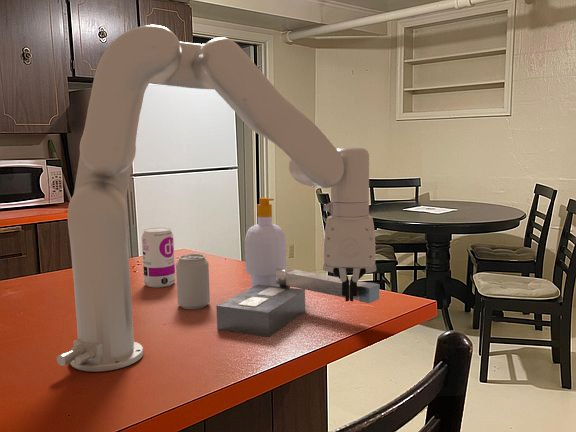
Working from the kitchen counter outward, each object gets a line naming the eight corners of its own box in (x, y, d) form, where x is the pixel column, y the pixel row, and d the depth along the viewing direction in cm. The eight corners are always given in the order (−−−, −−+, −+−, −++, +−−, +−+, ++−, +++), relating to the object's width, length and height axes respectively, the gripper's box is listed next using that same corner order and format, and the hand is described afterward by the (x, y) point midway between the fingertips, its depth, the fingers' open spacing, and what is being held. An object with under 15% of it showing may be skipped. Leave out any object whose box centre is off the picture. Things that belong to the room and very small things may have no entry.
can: (203, 311, 128) (201, 259, 127) (172, 309, 130) (170, 258, 128) (214, 301, 136) (212, 252, 134) (185, 300, 137) (182, 252, 135)
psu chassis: (269, 336, 111) (268, 311, 110) (217, 329, 116) (216, 304, 115) (312, 306, 131) (311, 283, 130) (266, 300, 136) (265, 279, 135)
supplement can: (181, 282, 154) (179, 228, 152) (159, 289, 147) (156, 233, 145) (160, 279, 158) (157, 226, 156) (138, 285, 152) (134, 230, 150)
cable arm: (379, 299, 117) (379, 284, 116) (369, 303, 114) (369, 288, 113) (283, 280, 134) (283, 266, 133) (272, 283, 130) (272, 270, 130)
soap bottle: (263, 301, 135) (261, 201, 132) (238, 292, 143) (235, 198, 140) (295, 292, 142) (293, 197, 139) (269, 285, 150) (267, 195, 146)
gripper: (310, 212, 109) (311, 304, 112) (388, 212, 107) (387, 306, 110) (313, 207, 117) (314, 293, 119) (386, 208, 115) (385, 295, 117)
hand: (349, 299), depth 115 cm, fingers closed
